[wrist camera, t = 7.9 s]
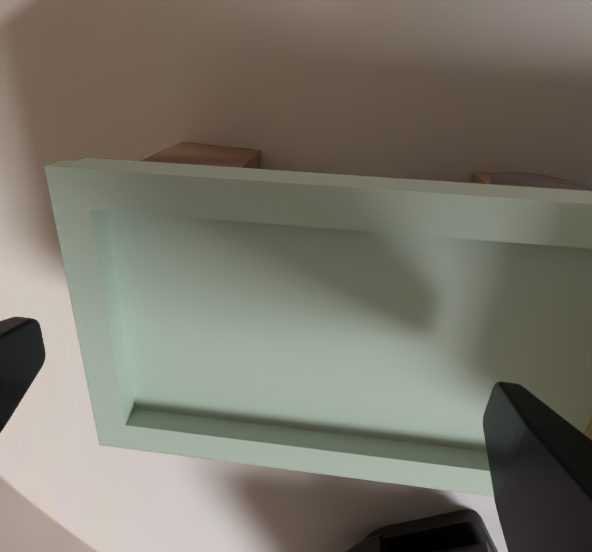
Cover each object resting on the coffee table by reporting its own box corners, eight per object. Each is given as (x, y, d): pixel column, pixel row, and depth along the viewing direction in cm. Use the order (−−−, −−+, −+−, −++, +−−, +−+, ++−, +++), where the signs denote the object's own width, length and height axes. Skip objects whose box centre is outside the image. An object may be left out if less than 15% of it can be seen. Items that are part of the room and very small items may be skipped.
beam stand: (861, 192, 12) (1075, 249, 8) (730, 400, 15) (846, 507, 11) (180, 125, 13) (115, 148, 10) (187, 326, 16) (139, 400, 13)
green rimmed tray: (1108, 212, 9) (1306, 253, 7) (881, 483, 12) (976, 559, 10) (97, 148, 11) (43, 165, 9) (133, 394, 14) (99, 444, 12)
